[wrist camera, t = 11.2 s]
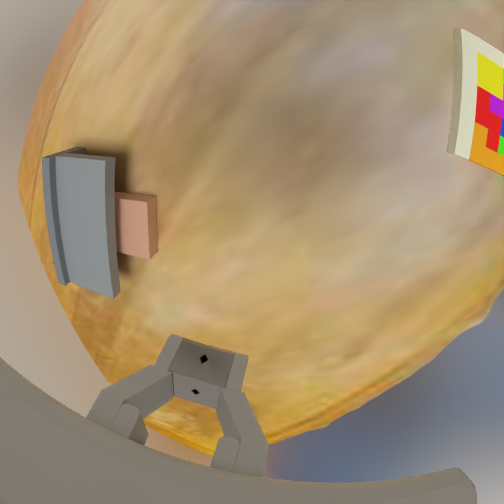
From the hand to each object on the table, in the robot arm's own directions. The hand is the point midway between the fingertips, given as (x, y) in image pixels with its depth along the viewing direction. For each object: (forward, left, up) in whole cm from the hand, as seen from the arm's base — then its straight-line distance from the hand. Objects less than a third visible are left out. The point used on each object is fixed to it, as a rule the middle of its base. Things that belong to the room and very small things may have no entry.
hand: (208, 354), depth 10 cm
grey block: (+12, -29, -32) cm, 44 cm away
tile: (+12, -24, -32) cm, 42 cm away
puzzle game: (-19, +38, -32) cm, 54 cm away
